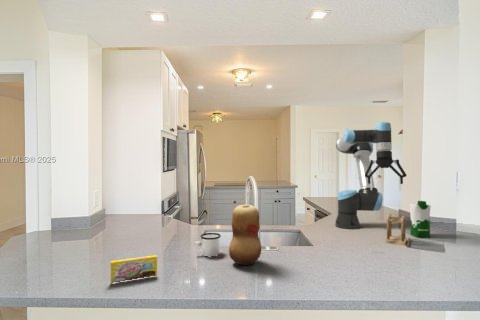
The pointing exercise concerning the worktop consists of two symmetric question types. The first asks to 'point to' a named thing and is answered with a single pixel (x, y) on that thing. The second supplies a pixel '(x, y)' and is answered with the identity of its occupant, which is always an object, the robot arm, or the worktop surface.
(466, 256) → the worktop surface
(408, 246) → the strip
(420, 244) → the mat
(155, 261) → the candy box
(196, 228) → the worktop surface
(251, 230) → the butternut squash
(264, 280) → the worktop surface
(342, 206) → the robot arm
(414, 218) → the milk carton
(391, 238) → the stool
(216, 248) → the mug
